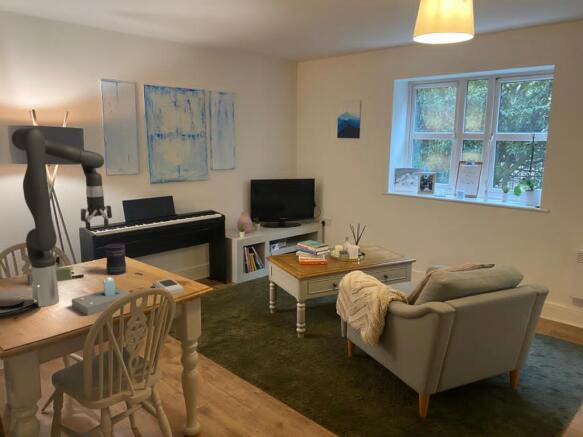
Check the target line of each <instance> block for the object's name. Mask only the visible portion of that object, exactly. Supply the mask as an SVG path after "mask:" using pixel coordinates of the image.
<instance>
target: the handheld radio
mask: <svg viewBox="0 0 583 437" xmlns="http://www.w3.org/2000/svg"><path fill="white" fill-rule="evenodd" d="M56 273H57V282H63V281H71V280H73V279H74V278H75V279H76V278H77V279H78V278H84V276H85V275H84V274H76V275H74V274H75V272H74V266H64V267H56ZM26 278H27V285H28V286H32V283H33V276H32V270H30V271H26Z"/></svg>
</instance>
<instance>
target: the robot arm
mask: <svg viewBox="0 0 583 437" xmlns="http://www.w3.org/2000/svg"><path fill="white" fill-rule="evenodd" d="M42 132H43V131H41V130H39V128H31V127H30V128H27V127H25V128H18V129H16V130H14V131H13V133H12V135H11V138H10V139H11V142H12V144H13V146H14V147H15V148H16V149H18V150H20V151H23V152H25V153H26V154H25V155H26V159H27V160H26V161H27V163H26V164H27V166H26V169H25V173H24V177H23V180H22V191H23V197H24V201H25V203H26V206H27V208H28V210H29V212H30V213H31V216H32V218H33V222H34V228H32V229H30V230H29V231H28V232H27V233H26V234H27V235H26V238H25V245H26V251H27V257H28V260H29V263H30V264H31V265H30V266H31V271H32V276H33V283H32V285H31V291H32V299H33V298H34V299H35V300H37V302H38V306H39V307H38V306H37V307H38V308H40V307H47V306H48V307H49V306H53V305H55V304H58V303H59V302H60V296H59V286H58V281H57V273H56V268H57V263H56V262H57V261H56V258H55V256H54V255H53V254H52V253H51V251H52V250H54V249H55V246H56V244H57V240H58V237H57V233H56V229H55V225H54V220H53V214H52V206H51V200H50V198H51V197H50V189H49V182H48V172H47V165H46V162H47V161H46V155H48V156H52V157H54V158H58V159H61V160H64V161H67V162H71V163H74V164H80V165H81V168H82V172H83V174H84V177H85V186H86V188H85V196H86V205H87V208H81V209H80V221H82V222H84V223H85V229H87V230H88V231H91V220H92V219H93V218H94V217H95V218H96V217H100V216H101V217H102V218H103V226H104V228H108V227H109V219H111V218H113V213H112V212H113V211H112V207H111V205H108V204H107V205H105V195H104V187H103V178H102V175H101V173H100V172H97V169H99V168H102V167H103V166H104V163H105V158H104V157H103V156H102V155H101V154H100V153H98V152H95V151H91V150H85V149H82V148H80V147H77V146H74V145H72V144H67V143H62V142H58V141H53V140H49V139H46V138H45V136H44V133H42ZM105 210H106V213H105ZM87 212H88V213H87Z"/></svg>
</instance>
